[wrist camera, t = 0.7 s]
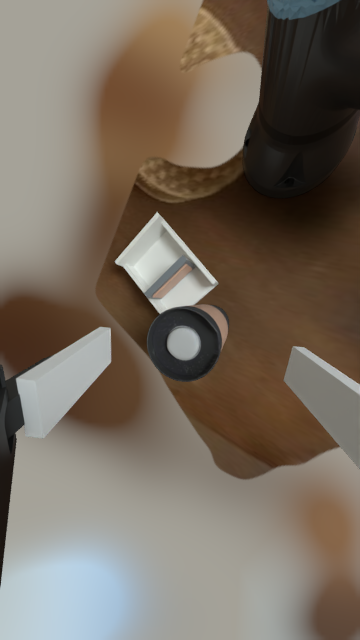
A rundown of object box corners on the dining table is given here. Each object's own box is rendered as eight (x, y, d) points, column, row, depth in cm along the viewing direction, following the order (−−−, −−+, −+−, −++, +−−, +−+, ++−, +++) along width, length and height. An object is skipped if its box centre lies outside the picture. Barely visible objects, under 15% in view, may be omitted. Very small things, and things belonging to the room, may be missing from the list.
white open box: (168, 224, 37) (157, 212, 32) (218, 283, 35) (215, 280, 30) (130, 266, 41) (114, 261, 36) (174, 322, 39) (163, 325, 34)
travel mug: (185, 324, 38) (132, 345, 19) (208, 295, 36) (175, 289, 17) (212, 349, 37) (184, 398, 18) (239, 321, 35) (239, 344, 16)
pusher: (191, 262, 36) (182, 254, 30) (196, 267, 35) (188, 261, 30) (157, 294, 38) (143, 293, 33) (162, 300, 38) (148, 299, 33)
